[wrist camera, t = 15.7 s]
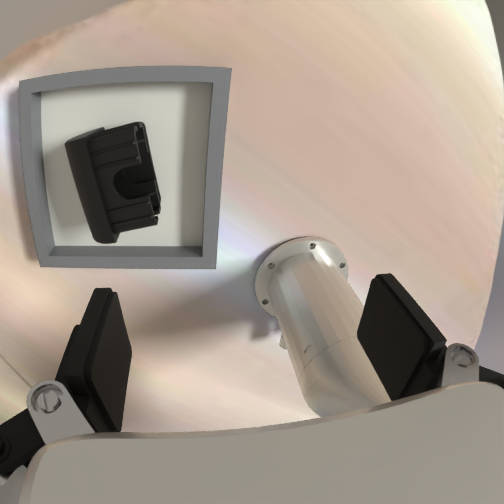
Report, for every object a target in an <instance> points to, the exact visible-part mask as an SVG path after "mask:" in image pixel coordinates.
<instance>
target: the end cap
mask: <svg viewBox="0 0 504 504" xmlns="http://www.w3.org/2000/svg"><path fill="white" fill-rule="evenodd" d="M65 149H66V153H67V157H68V161H69V164H70V168H71V171H72V175H73V178H74V182H75V185H76V189H77V192H78V195H79V198H80V201H81V205H82V208H83V211H84V214H85V217H86V220H87V223H88V225H89V228H90V231H91V234H92V237H93V239H94V240H95V241H96V242H97V243H101V244H112V243H116V242H117V240H118V237H119V235H120V233H122V232H126V231H131V230H136V229H140V228H145V227H150V226H155V225H157V224H158V220H159V219H158V214H160V211H161V204H160V203H161V195H160V191H159V187H158V182H157V178H156V174H155V169H154V165H153V160H152V156H151V151H150V146H149V141H148V136H147V131H146V126H145V124H144V123H143V122H133V123H129V124H125V125H122V126H118V127H114V128H111V129H107V130H105V128H104V127H101V128H98V129H95V130H92V131H89V132H86V133H83V134H80V135H78V136H76V137H73V138H71V139H69V140H67V141H66V142H65ZM155 215H157V216H155Z"/></svg>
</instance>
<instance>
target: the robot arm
mask: <svg viewBox="0 0 504 504" xmlns="http://www.w3.org/2000/svg"><path fill="white" fill-rule="evenodd" d="M348 275H349V269H348V263H347V260H346V258H345V256H344V254H343V253H342V252H341V250H340V249H339V248H338V247H337V246H336V245H334V244H333V243H331V242H330V241H328V240H325V239H322V238H318V237H304V238H298V239H294V240H291V241H288V242H286V243H284V244H282V245H280V246H279V247H277V248H276V249H275V250H273V251H272V252H271V253H270V254H269V255H268V256H267V257H266V258H265V259H264V261H263V262H262V263H261V265H260V267H259V269H258V271H257V273H256V277H255V293H256V296H257V299H258V302H259V304H260V305H261V307H262V308H263V309H264V310H265V311H266V312H267V313H268V314H270V315H272V316H274V317H276V318H277V321H278V324H279V327H280V329H281V332H282V335H281V339H280V346H281V347H282V348H283V349H287V350H288V353H289V356H290V359H291V362H292V365H293V368H294V371H295V373H296V376H297V379H298V382H299V385H300V388H301V391H302V394H303V396H304V399H305V401H306V403H307V404H308V406H309V407H310V408H311V409H312V410H313V411H314V412H315V413H316V414H317V415H319V416H320V417H321V418H316V419H310V420H304V421H298V422H291V423H285V424H277V425H270V426H261V427H252V428H242V429H231V430H217V431H198V432H120V431H121V428H122V420H123V411H124V404H125V396H126V389H127V382H128V376H129V369H130V363H131V357H132V350H131V345H130V341H129V338H128V334H127V330H126V327H125V323H124V319H123V315H122V311H121V307H120V303H119V299H118V295H117V292H112V289H111V288H95V289H94V291H93V294H92V296H91V299H90V301H89V303H88V306H87V308H86V311H85V313H84V316H83V318H82V321H81V324H80V325H76V326H75V327H74V329H73V331H72V334H71V336H70V339H69V342H68V344H67V347H66V350H65V352H64V355H63V358H62V361H61V364H60V366H59V369H58V372H57V375H56V378H55V381H53V380H47V381H43V382H40V383H38V384H37V385H35V386H34V387H33V388H32V389H31V390H30V392H29V394H28V396H27V407H28V408H27V409H25V410H24V411H22V412H21V413H19V414H17V415H16V416H14V417H12V418H11V419H9V420H8V421H6V422H4V423H3V424H1V425H0V504H504V375H503V374H500V373H497V372H495V371H492V370H490V369H487V368H484V367H482V366H479V359H478V356H477V354H476V353H475V352H474V351H473V349H471V348H470V347H468V346H466V345H464V344H460V343H454V344H451V345H449V346H448V347H446V345H445V343H446V341H447V340H446V338H445V337H444V336H443V334H442V333H441V332H440V331H439V329H438V328H437V327H436V326H435V324H434V323H433V322H432V321H431V319H430V318H429V317H428V316H427V315H426V313H425V312H424V311H423V310H422V309H421V307H420V306H419V305H418V304H417V303H416V301H415V300H414V299H413V298H412V297H411V295H410V294H409V293H408V292H407V291H406V290H405V288H404V287H403V286H402V285H401V284H400V283H399V282H398V280H397V279H396V278H395V277H394V276H393V275H392V274H390V273H389V274H378V275H376V277H375V278H374V279H372V281H371V284H370V288H369V292H368V295H367V299H366V302H365V306H364V305H363V304H362V302H361V301H360V299H359V298H358V296H357V295H356V293H355V292H354V290H353V289H352V287H351V286H350V285H349V283H348V282H347V280H348Z"/></svg>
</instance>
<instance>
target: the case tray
mask: <svg viewBox="0 0 504 504" xmlns="http://www.w3.org/2000/svg"><path fill="white" fill-rule="evenodd" d="M231 71H232V68H222V67H204V66H134V67H117V68H104V69H93V70H84V71H76V72H68V73H61V74H55V75H49V76H43V77H37V78H32V79H27V80H22V81H19V123H20V143H21V156H22V166H23V175H24V184H25V191H26V198H27V204H28V210H29V216H30V222H31V227H32V232H33V237H34V242H35V246H36V251H37V255H38V259H39V263H40V267H62V268H123V269H216V260H217V242H218V226H219V211H220V196H221V182H222V169H223V157H224V145H225V133H226V122H227V111H228V100H229V90H230V80H231ZM133 122H143V123H144V124H145V126H146V131H147V136H148V141H149V146H150V151H151V156H152V160H153V165H154V169H155V174H156V178H157V182H158V187H159V191H160V195H161V203H160V204H161V211H160V214H158V219H159V220H158V224H157V225H155V226H150V227H145V228H140V229H136V230H131V231H126V232H122V233H120V235H119V237H118V240H117V242H116V243H112V244H101V243H97V242H96V241H95V240H94V239H93V237H92V234H91V231H90V228H89V225H88V223H87V220H86V217H85V214H84V211H83V208H82V205H81V201H80V198H79V195H78V192H77V189H76V185H75V182H74V178H73V175H72V171H71V168H70V164H69V161H68V157H67V153H66V149H65V142H66V141H67V140H69V139H71V138H73V137H76V136H78V135H80V134H83V133H86V132H89V131H92V130H95V129H98V128H101V127H104V128H105V130H107V129H111V128H114V127H118V126H122V125H125V124H129V123H133ZM155 216H157V215H155Z"/></svg>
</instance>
